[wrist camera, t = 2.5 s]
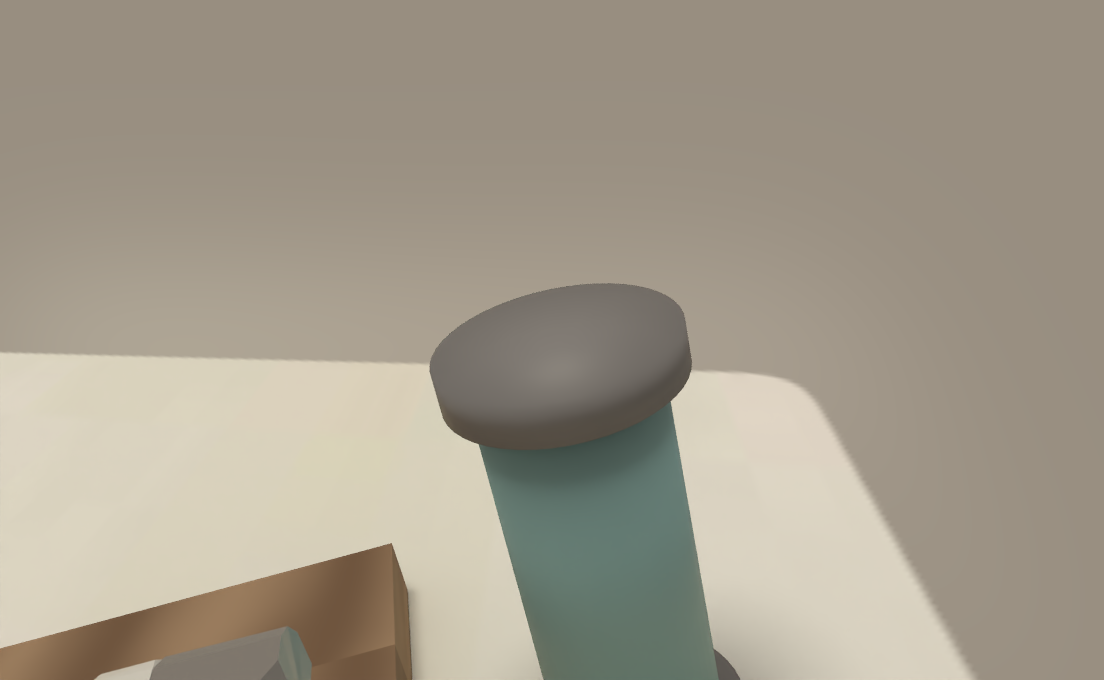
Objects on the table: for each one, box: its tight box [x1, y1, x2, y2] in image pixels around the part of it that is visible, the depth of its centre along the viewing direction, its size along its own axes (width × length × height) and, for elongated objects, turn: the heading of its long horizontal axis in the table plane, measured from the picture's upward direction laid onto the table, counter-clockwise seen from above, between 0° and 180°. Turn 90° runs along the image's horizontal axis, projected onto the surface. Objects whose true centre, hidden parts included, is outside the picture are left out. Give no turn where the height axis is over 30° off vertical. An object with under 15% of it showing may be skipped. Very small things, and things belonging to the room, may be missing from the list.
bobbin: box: [430, 283, 740, 680], centre depth 24 cm, size 6×6×12 cm
